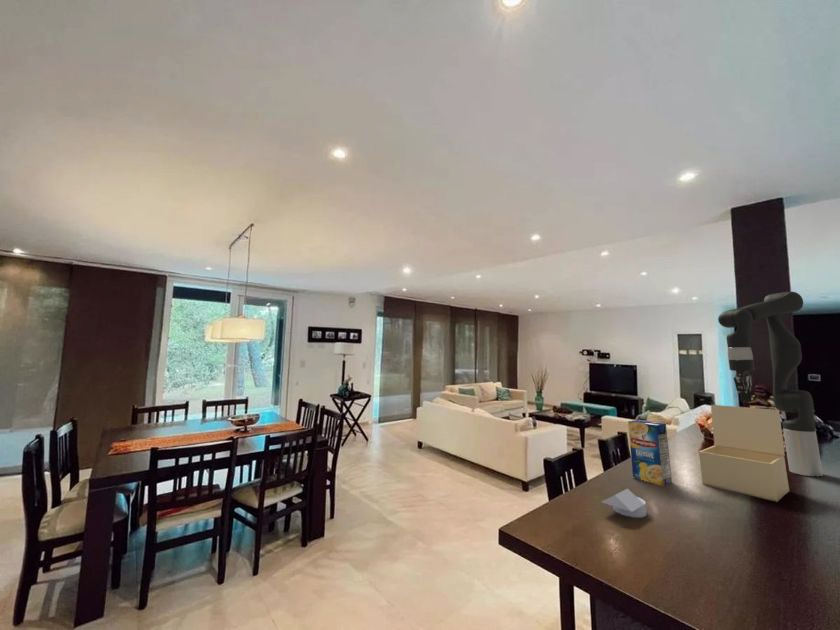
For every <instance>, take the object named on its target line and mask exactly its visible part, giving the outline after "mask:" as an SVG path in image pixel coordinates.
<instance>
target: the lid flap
mask: <svg viewBox="0 0 840 630" xmlns="http://www.w3.org/2000/svg"><path fill="white" fill-rule="evenodd" d="M710 410H711V411H710V413H711V420H712V421H711V422H712V433H713V446H714V445H715V446H721V447H728V448H734V449H741V450H747V451H754V452H760V453H767V454H773V455H780V456H784V457H785V456H786V454H785V447H784V440H783V431H782V430H783V428H782V422H781V415H780V411H779V410H778V409H775V408H774V409H771V408H762V407H761V408H758V407H748V406H747V407H745V406H744V407H743V406H732V405H731V406H730V405H722V404H721V405H720V404H710Z"/></svg>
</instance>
